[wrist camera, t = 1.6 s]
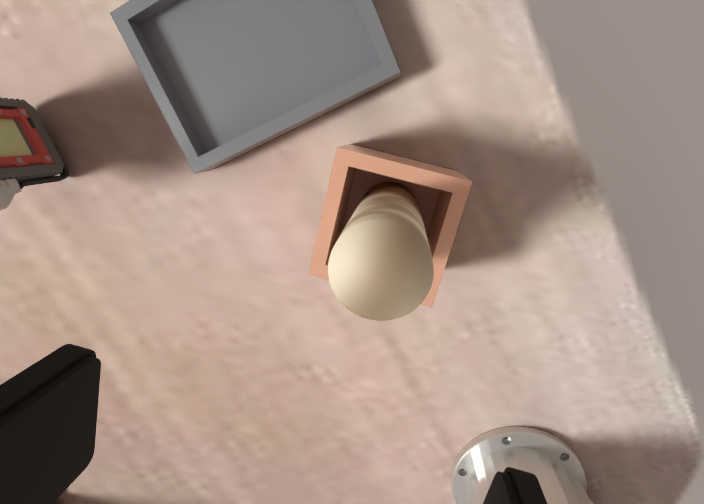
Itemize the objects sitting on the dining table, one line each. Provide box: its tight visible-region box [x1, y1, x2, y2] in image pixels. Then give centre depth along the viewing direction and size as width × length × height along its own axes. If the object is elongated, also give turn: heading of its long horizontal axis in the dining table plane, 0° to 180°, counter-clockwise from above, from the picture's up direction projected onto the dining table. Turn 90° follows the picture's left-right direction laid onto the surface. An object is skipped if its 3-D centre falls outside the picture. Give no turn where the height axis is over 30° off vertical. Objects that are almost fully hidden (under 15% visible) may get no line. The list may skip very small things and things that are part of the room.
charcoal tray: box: [110, 0, 400, 174], centre depth 33 cm, size 18×13×3 cm
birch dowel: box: [328, 182, 434, 321], centre depth 28 cm, size 5×5×16 cm
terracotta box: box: [309, 144, 472, 307], centre depth 33 cm, size 9×9×8 cm
